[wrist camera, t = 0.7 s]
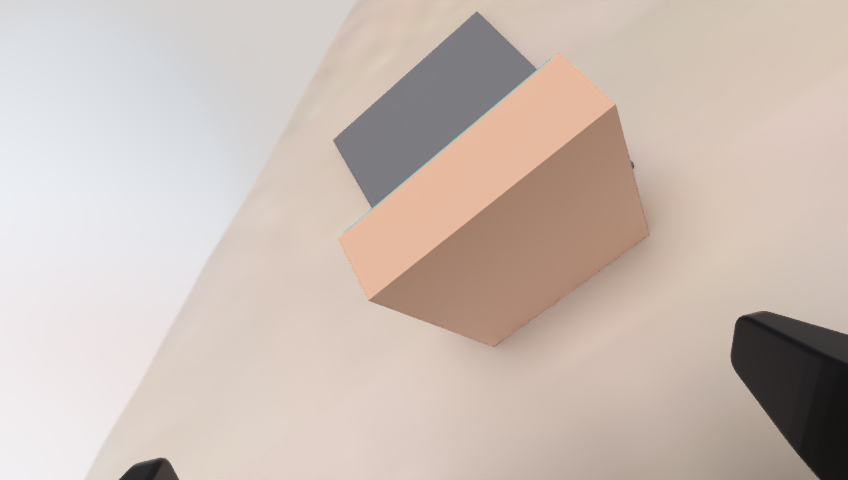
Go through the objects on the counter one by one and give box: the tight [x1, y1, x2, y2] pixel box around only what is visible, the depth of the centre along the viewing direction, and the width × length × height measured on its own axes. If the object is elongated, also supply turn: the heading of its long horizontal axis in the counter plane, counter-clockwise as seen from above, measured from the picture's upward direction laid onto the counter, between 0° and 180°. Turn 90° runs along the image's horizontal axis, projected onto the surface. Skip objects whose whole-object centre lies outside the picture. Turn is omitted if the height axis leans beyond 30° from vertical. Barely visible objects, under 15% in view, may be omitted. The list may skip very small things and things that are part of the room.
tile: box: [338, 53, 649, 347], centre depth 18 cm, size 2×8×10 cm, turn 121°
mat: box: [333, 12, 634, 208], centre depth 26 cm, size 13×11×1 cm
